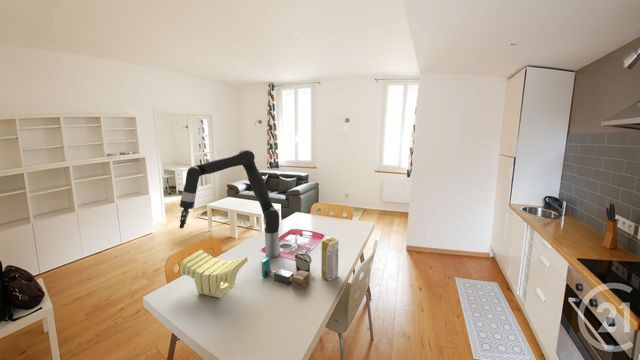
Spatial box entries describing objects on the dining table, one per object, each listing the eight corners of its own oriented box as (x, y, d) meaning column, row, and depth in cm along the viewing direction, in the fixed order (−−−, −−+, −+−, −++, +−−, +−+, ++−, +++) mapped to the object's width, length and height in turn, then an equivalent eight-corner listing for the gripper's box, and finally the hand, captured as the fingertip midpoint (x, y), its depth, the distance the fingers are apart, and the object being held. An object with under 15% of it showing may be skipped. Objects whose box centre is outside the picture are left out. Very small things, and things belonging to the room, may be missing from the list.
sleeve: (279, 276, 160) (279, 268, 159) (293, 280, 156) (293, 272, 155) (274, 281, 155) (273, 272, 154) (288, 285, 151) (288, 277, 150)
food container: (315, 272, 164) (315, 257, 163) (308, 276, 160) (308, 261, 158) (302, 265, 173) (301, 251, 171) (294, 269, 168) (294, 254, 166)
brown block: (300, 281, 155) (300, 269, 154) (309, 283, 153) (309, 272, 151) (292, 288, 148) (292, 276, 147) (302, 291, 146) (302, 279, 144)
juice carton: (330, 271, 166) (330, 234, 162) (340, 276, 161) (340, 237, 156) (319, 277, 160) (319, 238, 155) (329, 282, 154) (329, 242, 150)
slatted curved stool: (182, 293, 144) (179, 262, 140) (203, 277, 159) (201, 249, 155) (231, 303, 135) (229, 270, 132) (248, 286, 150) (247, 256, 147)
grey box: (268, 272, 164) (267, 257, 162) (296, 280, 155) (296, 264, 153) (262, 277, 158) (261, 261, 157) (290, 285, 150) (290, 269, 148)
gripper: (193, 203, 155) (187, 230, 156) (196, 198, 168) (190, 223, 169) (179, 200, 152) (173, 228, 153) (182, 196, 166) (177, 222, 166)
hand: (182, 226), depth 161 cm, fingers open, 8 cm apart
